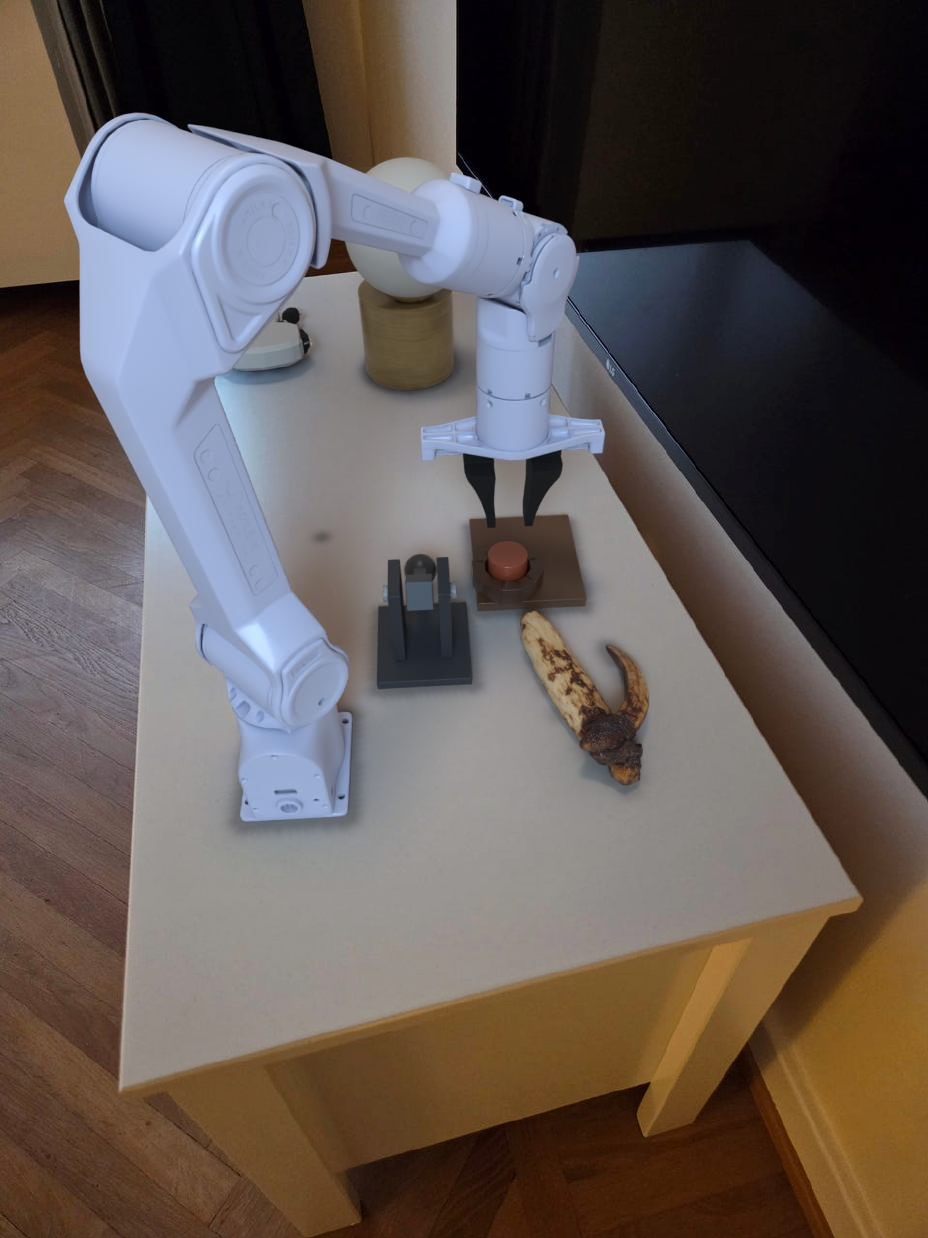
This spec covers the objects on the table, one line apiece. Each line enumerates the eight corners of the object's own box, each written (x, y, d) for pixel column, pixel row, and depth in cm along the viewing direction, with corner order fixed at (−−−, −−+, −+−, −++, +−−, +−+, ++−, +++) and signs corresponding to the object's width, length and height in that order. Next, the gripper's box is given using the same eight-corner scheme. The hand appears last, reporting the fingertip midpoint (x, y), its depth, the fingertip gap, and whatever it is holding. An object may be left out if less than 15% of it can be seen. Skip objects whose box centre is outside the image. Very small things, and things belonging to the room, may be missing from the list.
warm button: (528, 580, 76) (529, 566, 75) (489, 582, 76) (489, 568, 75) (524, 554, 78) (525, 540, 77) (486, 555, 78) (486, 541, 77)
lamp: (490, 393, 102) (493, 173, 84) (380, 418, 99) (358, 195, 81) (446, 336, 112) (440, 128, 94) (345, 357, 109) (318, 145, 90)
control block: (585, 609, 77) (588, 586, 75) (474, 614, 77) (474, 591, 75) (567, 523, 85) (569, 500, 83) (466, 527, 85) (466, 504, 83)
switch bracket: (379, 613, 77) (370, 541, 71) (466, 609, 77) (464, 537, 71) (377, 690, 71) (367, 619, 64) (472, 685, 71) (471, 614, 65)
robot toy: (218, 337, 114) (218, 387, 103) (210, 304, 111) (209, 352, 100) (308, 327, 116) (318, 375, 105) (303, 294, 113) (312, 340, 102)
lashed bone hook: (698, 767, 66) (588, 612, 77) (713, 732, 62) (595, 575, 73) (594, 806, 63) (495, 639, 74) (603, 772, 60) (498, 602, 71)
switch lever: (405, 583, 78) (403, 551, 78) (437, 581, 78) (435, 550, 78) (402, 615, 68) (399, 579, 67) (438, 613, 68) (437, 577, 67)
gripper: (600, 349, 66) (584, 487, 76) (416, 356, 66) (424, 494, 75) (616, 398, 61) (597, 538, 71) (418, 406, 61) (426, 546, 71)
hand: (509, 519), depth 73 cm, fingers open, 3 cm apart
